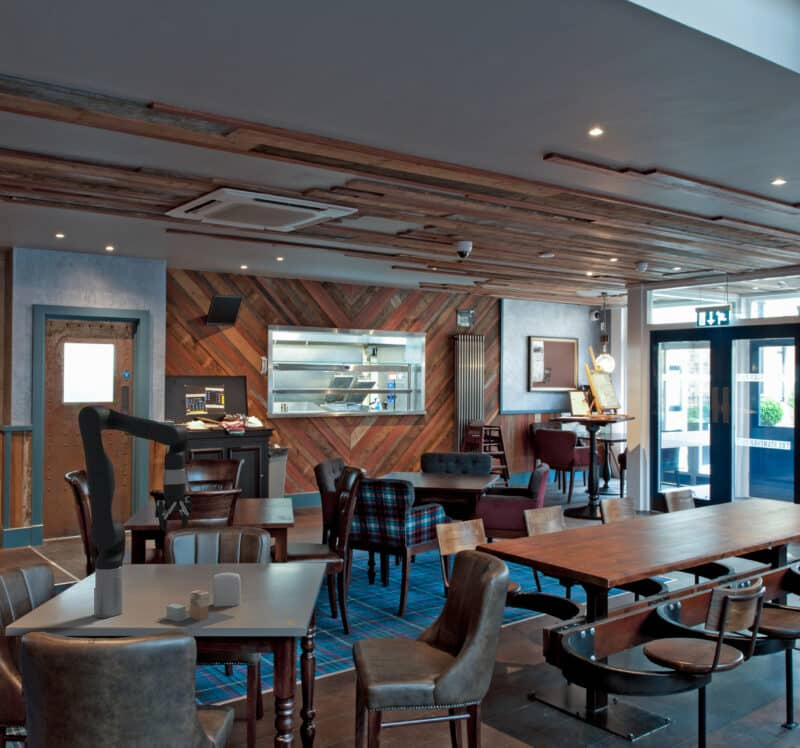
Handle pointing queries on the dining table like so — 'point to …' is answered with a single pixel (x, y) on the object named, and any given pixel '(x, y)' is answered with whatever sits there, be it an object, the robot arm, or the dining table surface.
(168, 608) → the grey green brick
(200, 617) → the terracotta brick
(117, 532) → the robot arm
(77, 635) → the dining table surface
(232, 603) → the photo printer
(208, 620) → the charcoal mat
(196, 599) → the maple brick
